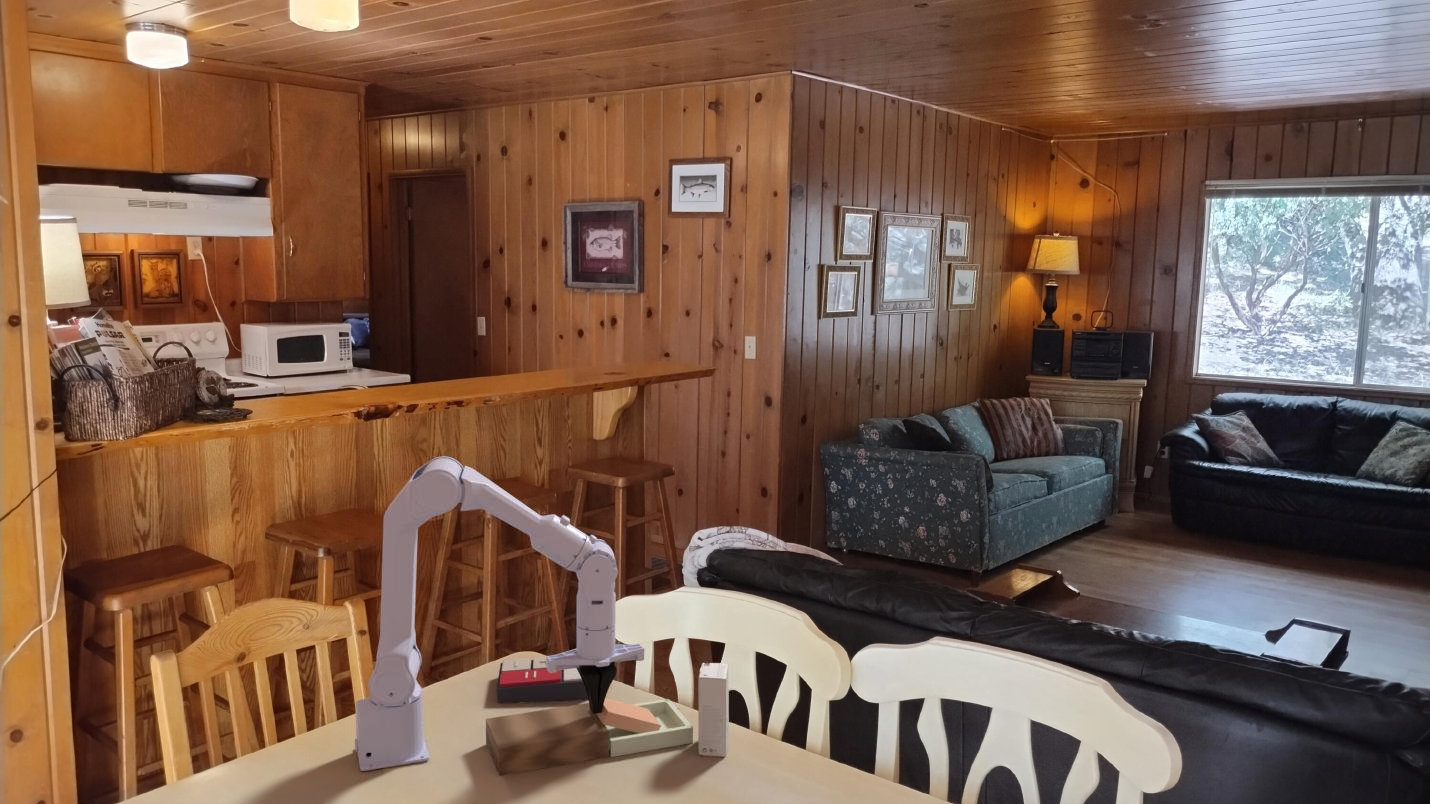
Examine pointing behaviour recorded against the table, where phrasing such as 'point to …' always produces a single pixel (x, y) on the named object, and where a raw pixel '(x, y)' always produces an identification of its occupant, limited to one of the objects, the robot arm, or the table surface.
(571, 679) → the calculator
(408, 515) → the robot arm
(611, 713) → the tile
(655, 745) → the tray
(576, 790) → the table surface
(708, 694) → the skincare box
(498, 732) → the brown wooden block
